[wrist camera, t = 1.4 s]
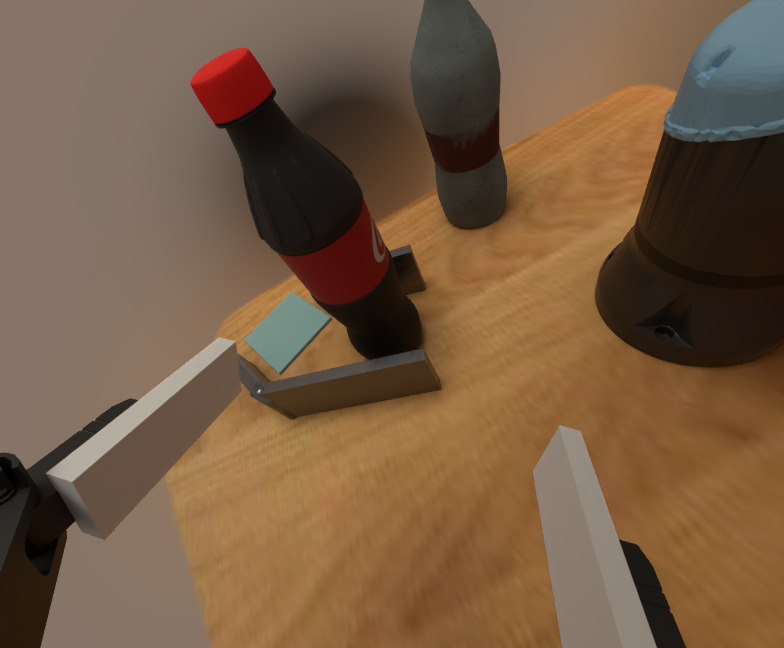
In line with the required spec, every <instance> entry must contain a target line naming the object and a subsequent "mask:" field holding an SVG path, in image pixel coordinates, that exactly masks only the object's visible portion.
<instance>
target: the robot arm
mask: <svg viewBox="0 0 784 648" xmlns="http://www.w3.org/2000/svg"><path fill="white" fill-rule="evenodd" d="M595 298H596V304H597V307H598V310H599V312H600V314H601V316H602V318H603V319H604V321H605V322H606V324H607V325H608V326H609V327H610V328H611V329H612V330H613V331H614V332H615V333H616V334H617V335H618V336H619V337H621V338H622V339H623V340H624V341H626V342H627V343H629V344H630V345H632V346H634V347H635V348H637V349H639V350H641V351H643V352H645V353H648V354H650V355H652V356H655V357H658V358H661V359H664V360H668V361H671V362H676V363H680V364H686V365H693V366H728V365H735V364H740V363H745V362H748V361H752V360H755V359H757V358H760V357H762V356H764V355H766V354H768V353H770V352H772V351H773V350H775V349H776V348H777V347H779V346H780V345H781V344H782V343H783V342H784V0H753V1H751V2H749V3H748V4H746V5H745V6H743V7H742V8H740V9H738V10H737V11H735V12H734V13H732V14H731V15H730V16H729V17H727V18H726V19H725V20H724V21H722V22H721V23H720V24H719V25H718V26H716V27H715V28H714V30H712V31H711V32H710V33H709V35H708V36H707V37H706V38H705V39H704V40H703V41H702V43H701V44H700V45H699V47H698V48H697V50H696V51H695V52H694V54H693V56H692V58H691V60H690V62H689V64H688V66H687V69H686V72H685V74H684V77H683V80H682V82H681V85H680V88H679V90H678V93H677V96H676V98H675V101H674V103H673V104H672V105H671V107H670V108H669V109H668V111H667V114H666V117H665V121H664V132H663V135H662V139H661V142H660V145H659V148H658V152H657V155H656V158H655V161H654V165H653V168H652V171H651V174H650V178H649V181H648V184H647V187H646V191H645V194H644V197H643V200H642V204H641V207H640V210H639V213H638V216H637V219H636V223H635V225H634V226H633V227H632V228H631V230H630V231H629V232H628V233H627V235H626V236H625V238H624V239H623V242H621V243H620V244H619V245H618V246H616V247H615V248H614V249H613V250H612V252H611V253H610V254H609V255H608V256H607V258H606V259H605V261H604V263H603V265H602V267H601V269H600V272H599V276H598V280H597V284H596V289H595ZM241 391H242V390H241V381H240V373H239V364H238V356H237V347H236V341H232V340H228V339H224V338H220V337H219V338H217V339H216V340H215V341H214V342H212V343H211V344H210V345H209V346H207V347H206V348H205V349H203V350H202V351H201V352H200V353H198V354H197V355H196V356H195V357H193V358H192V359H191V360H190V361H188V362H187V363H186V364H184V365H183V366H182V367H181V368H180V369H178V370H177V371H175V372H174V373H173V374H172V375H170V376H169V377H168V378H167V379H165V380H164V381H163V382H162V383H160V384H159V385H158V386H156V387H155V388H154V389H152V390H151V391H150V392H149V393H147V394H146V395H145V396H144V397H142V398H141V399H140V400H135V399H131V398H130V399H128V400H126V401H123V402H121V403H119V404H117V405H115V406H113V407H111V408H110V409H108V410H107V411H105V412H104V413H103V414H101V415H100V416H99V417H97V418H96V420H95V421H92V422H91V423H89V424H88V425H87V426H85V427H84V428H83V430H82V431H79V432H77V433H76V434H75V435H73V436H72V437H70V438H69V439H68V440H66V441H65V442H64V443H62V444H61V445H60V446H58V447H57V448H56V449H54V450H53V451H52V452H50V453H49V454H48V455H46V456H45V457H44V458H42V459H41V460H40V461H38V462H37V463H36V464H34V465H33V466H32V467H30V468H29V469H27V470H26V469H25V468H24V466H23V465H22V463H21V462H20V460H19V459H18V458H17V457H16V456H15V455H14V454H9V453H0V648H40V647H41V642H42V639H43V634H44V630H45V626H46V622H47V618H48V614H49V610H50V606H51V602H52V597H53V593H54V589H55V585H56V581H57V577H58V573H59V569H60V565H61V561H62V557H63V552H64V548H65V544H66V540H67V531H66V529H67V528H68V527H69V526H70V525H72V524H73V523H74V522H75V521H76V523H77V524H78V526H79V528H80V529H81V531H82V532H84V533H87V534H90V535H92V536H95V537H98V538H101V539H104V540H105V539H106V538H107V537H108V536H109V535H110V534H111V533H112V532H113V531H114V530H115V528H116V527H117V526H118V525H119V524H120V523H121V522H122V521H123V520H124V519H125V518H126V516H127V515H128V514H129V513H130V512H131V511H132V510H133V509H134V508H135V506H137V504H138V503H139V502H140V501H141V500H142V499H143V498H144V497H145V496H146V495H147V494H148V492H149V491H150V490H151V489H152V488H153V487H154V486H155V485H156V484H157V483H158V481H160V479H161V478H162V477H163V476H164V475H165V474H166V473H167V472H168V471H169V470H170V469H171V467H172V466H173V465H174V464H175V463H176V462H177V461H178V460H179V459H180V458H181V457H182V455H183V454H184V453H185V452H186V451H187V450H188V449H189V448H190V447H191V446H192V445H193V443H194V442H195V441H196V440H197V439H198V438H199V437H200V436H201V435H202V434H203V433H204V431H205V430H206V429H207V428H208V427H209V426H210V425H211V424H212V423H213V422H214V421H215V420H216V418H217V417H218V416H219V415H220V414H221V413H222V412H223V411H224V410H225V409H226V408H227V406H228V405H229V404H230V403H231V402H232V401H233V400H234V399H235V398H236V397H237V396H238V394H239V393H240V392H241ZM533 476H534V482H535V488H536V494H537V500H538V506H539V512H540V518H541V524H542V530H543V536H544V542H545V548H546V554H547V560H548V566H549V572H550V578H551V584H552V590H553V596H554V602H555V608H556V614H557V620H558V626H559V632H560V638H561V644H562V648H686V646H685V644H684V641H683V639H682V636H681V634H680V632H679V629H678V627H677V624H676V622H675V619H674V617H673V614H672V613H670V607H669V605H668V602H667V600H666V597H665V595H664V594H663V593H662V588H661V585H660V583H659V580H658V578H657V575H656V573H655V570H654V568H653V566H652V565H651V563H650V562H649V560H648V559H647V558H646V556H645V555H644V553H643V552H642V551H641V549H640V548H639V546H638V545H636V544H633V543H629V542H626V541H622V540H619V539H618V536H617V533H616V530H615V527H614V525H613V522H612V519H611V516H610V513H609V510H608V508H607V505H606V502H605V499H604V496H603V493H602V490H601V488H600V485H599V482H598V479H597V476H596V473H595V471H594V468H593V465H592V462H591V459H590V456H589V453H588V451H587V448H586V445H585V442H584V439H583V436H582V434H581V431H580V430H576V429H572V428H568V427H564V426H560V425H559V427H558V428H557V430H556V432H555V434H554V435H553V437H552V439H551V441H550V442H549V444H548V446H547V448H546V449H545V451H544V453H543V454H542V456H541V458H540V460H539V461H538V463H537V465H536V467H535V468H534V470H533Z"/></svg>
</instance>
